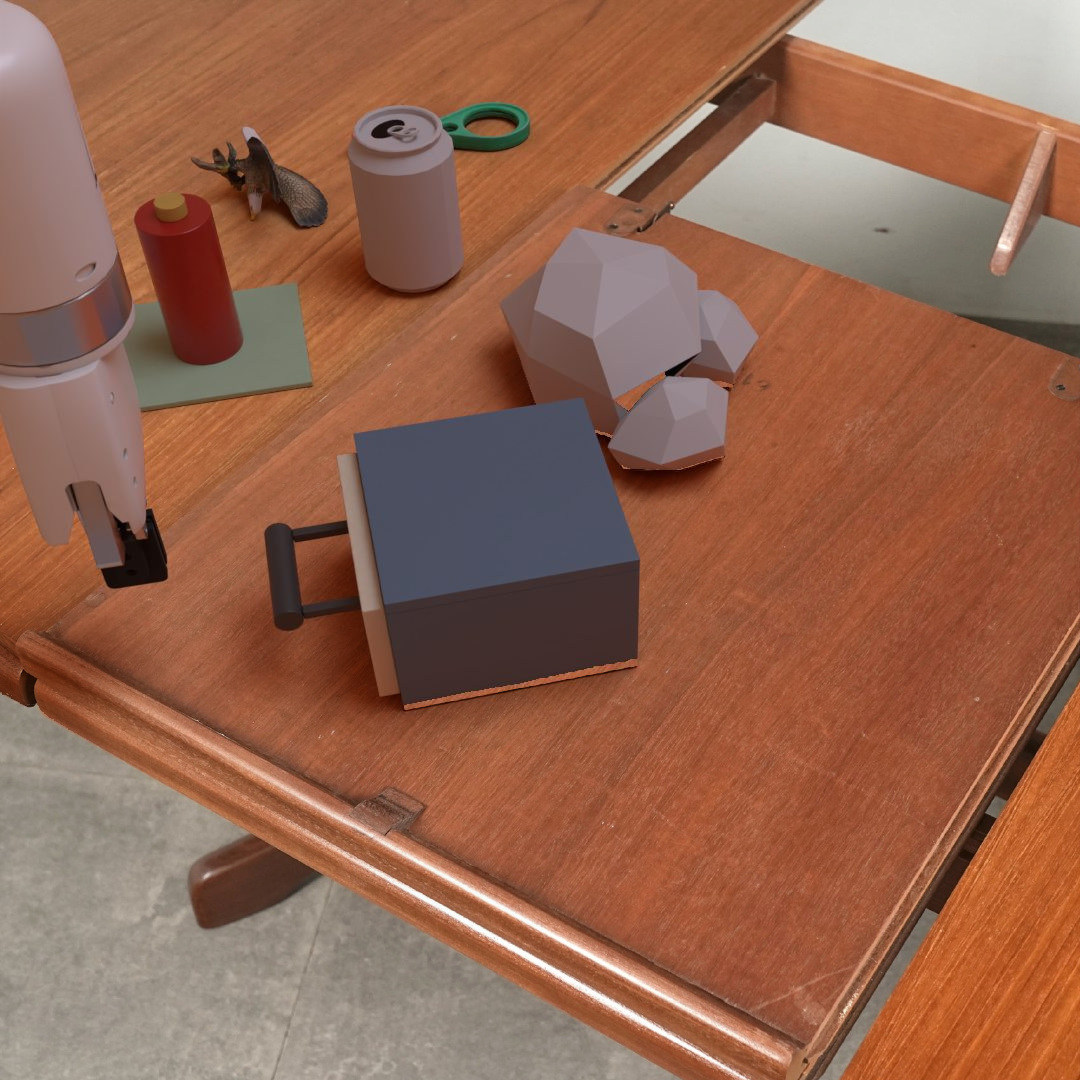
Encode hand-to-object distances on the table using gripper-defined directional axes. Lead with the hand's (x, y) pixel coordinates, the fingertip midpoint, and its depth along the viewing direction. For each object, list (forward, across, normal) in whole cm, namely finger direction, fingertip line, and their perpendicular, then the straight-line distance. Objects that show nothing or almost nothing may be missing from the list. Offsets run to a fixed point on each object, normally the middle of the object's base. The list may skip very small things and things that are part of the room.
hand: (138, 574), depth 75 cm
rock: (+7, -16, +32) cm, 36 cm away
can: (+7, -34, +20) cm, 40 cm away
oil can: (+7, -28, +4) cm, 30 cm away
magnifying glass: (+8, -52, +25) cm, 58 cm away
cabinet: (+7, +1, +20) cm, 21 cm away
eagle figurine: (+8, -45, +10) cm, 47 cm away
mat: (+8, -28, +4) cm, 30 cm away
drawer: (+6, +1, +15) cm, 16 cm away
